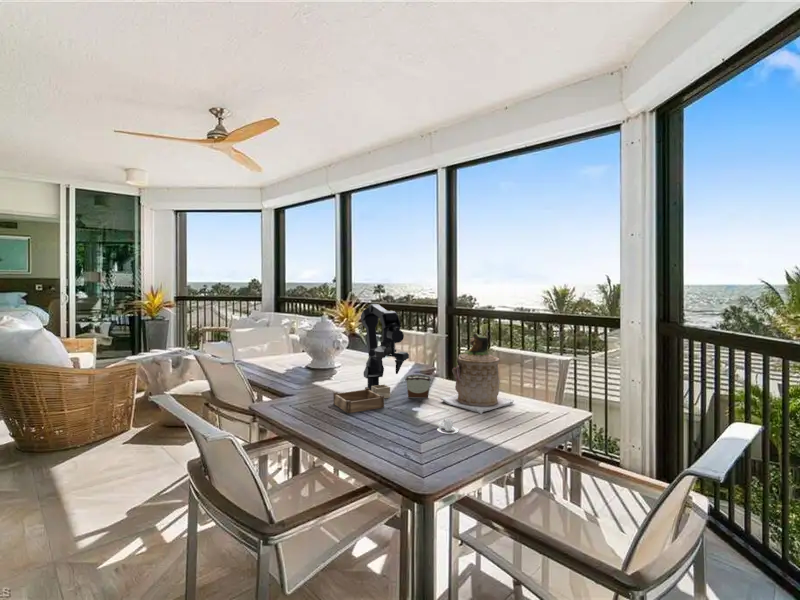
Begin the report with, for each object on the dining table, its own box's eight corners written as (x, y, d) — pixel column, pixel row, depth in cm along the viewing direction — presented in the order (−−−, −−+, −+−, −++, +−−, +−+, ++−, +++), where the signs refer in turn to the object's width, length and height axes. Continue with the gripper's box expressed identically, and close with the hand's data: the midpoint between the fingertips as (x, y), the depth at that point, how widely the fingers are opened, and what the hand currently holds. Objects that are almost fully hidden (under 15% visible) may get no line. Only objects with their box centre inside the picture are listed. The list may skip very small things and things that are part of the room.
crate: (333, 403, 197) (333, 392, 197) (368, 398, 206) (368, 387, 206) (347, 413, 184) (347, 401, 183) (384, 407, 192) (384, 396, 192)
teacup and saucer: (436, 426, 169) (436, 416, 169) (457, 426, 169) (457, 416, 169) (437, 434, 160) (437, 423, 160) (459, 435, 160) (460, 424, 160)
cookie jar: (515, 404, 198) (517, 333, 196) (481, 415, 182) (482, 337, 180) (472, 393, 217) (473, 327, 215) (437, 402, 200) (438, 331, 199)
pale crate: (371, 396, 210) (371, 386, 210) (384, 394, 213) (384, 384, 213) (376, 399, 205) (376, 388, 204) (390, 397, 208) (390, 387, 208)
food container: (431, 395, 212) (431, 374, 212) (431, 398, 206) (431, 377, 206) (406, 394, 214) (406, 373, 213) (404, 397, 208) (405, 376, 207)
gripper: (361, 339, 201) (361, 373, 202) (397, 343, 191) (396, 379, 193) (375, 336, 211) (375, 368, 212) (409, 340, 201) (409, 374, 202)
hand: (388, 372), depth 204 cm, fingers open, 9 cm apart
